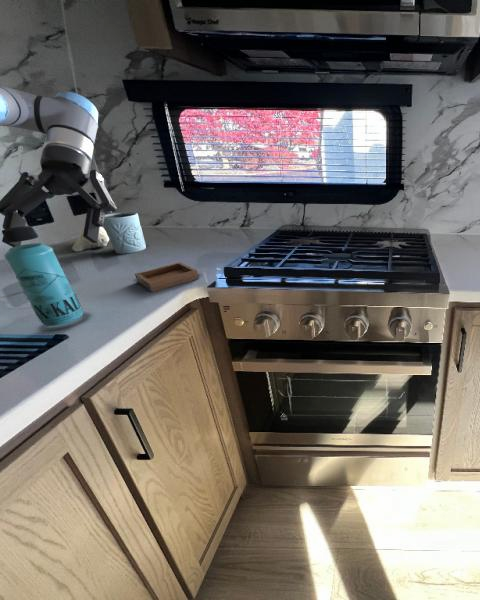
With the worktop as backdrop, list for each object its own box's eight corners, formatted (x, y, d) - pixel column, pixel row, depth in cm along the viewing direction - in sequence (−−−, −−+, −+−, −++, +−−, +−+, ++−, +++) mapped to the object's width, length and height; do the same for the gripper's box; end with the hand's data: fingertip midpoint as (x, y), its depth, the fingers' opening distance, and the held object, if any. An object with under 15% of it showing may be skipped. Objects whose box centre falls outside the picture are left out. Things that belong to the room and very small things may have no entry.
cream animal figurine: (100, 258, 113) (124, 223, 119) (73, 246, 108) (100, 210, 113) (90, 264, 122) (113, 231, 128) (65, 253, 117) (89, 219, 123)
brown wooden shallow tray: (137, 281, 88) (134, 273, 87) (182, 269, 95) (180, 262, 94) (152, 292, 81) (148, 283, 80) (199, 278, 89) (196, 270, 88)
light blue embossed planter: (112, 249, 115) (98, 215, 110) (147, 243, 121) (135, 210, 116) (115, 256, 108) (99, 219, 103) (152, 249, 114) (139, 214, 109)
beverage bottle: (46, 324, 68) (-8, 227, 59) (88, 313, 72) (43, 221, 63) (43, 337, 63) (-17, 234, 55) (88, 325, 67) (39, 227, 58)
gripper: (141, 166, 78) (133, 246, 71) (17, 170, 74) (-4, 256, 67) (120, 141, 71) (108, 227, 64) (-19, 145, 67) (-46, 237, 60)
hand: (51, 242), depth 66 cm, fingers open, 13 cm apart
